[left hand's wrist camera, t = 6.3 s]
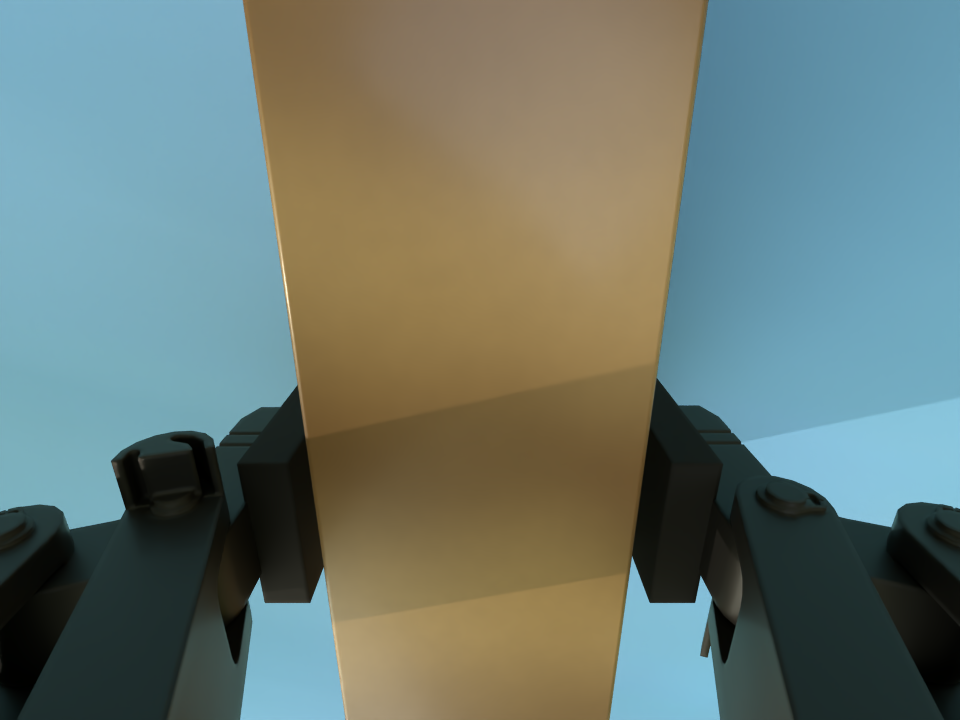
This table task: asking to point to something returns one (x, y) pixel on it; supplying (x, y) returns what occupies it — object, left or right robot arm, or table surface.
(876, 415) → the table surface
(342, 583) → the bar
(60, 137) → the table surface
